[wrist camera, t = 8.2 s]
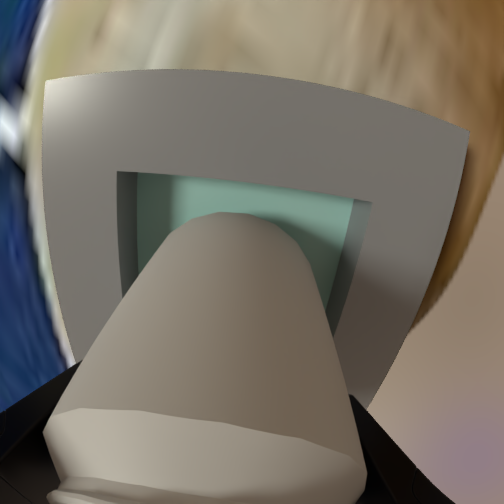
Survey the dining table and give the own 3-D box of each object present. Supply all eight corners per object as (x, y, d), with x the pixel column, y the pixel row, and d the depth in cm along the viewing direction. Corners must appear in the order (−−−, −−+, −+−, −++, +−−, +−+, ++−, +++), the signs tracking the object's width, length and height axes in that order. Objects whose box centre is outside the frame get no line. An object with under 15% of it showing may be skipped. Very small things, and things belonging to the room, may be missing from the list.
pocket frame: (98, 364, 19) (85, 389, 16) (75, 83, 11) (45, 80, 9) (350, 396, 19) (357, 423, 17) (440, 127, 12) (469, 131, 10)
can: (309, 199, 13) (452, 497, 2) (310, 338, 16) (345, 566, 5) (140, 214, 13) (-54, 432, 2) (173, 344, 16) (112, 551, 5)
